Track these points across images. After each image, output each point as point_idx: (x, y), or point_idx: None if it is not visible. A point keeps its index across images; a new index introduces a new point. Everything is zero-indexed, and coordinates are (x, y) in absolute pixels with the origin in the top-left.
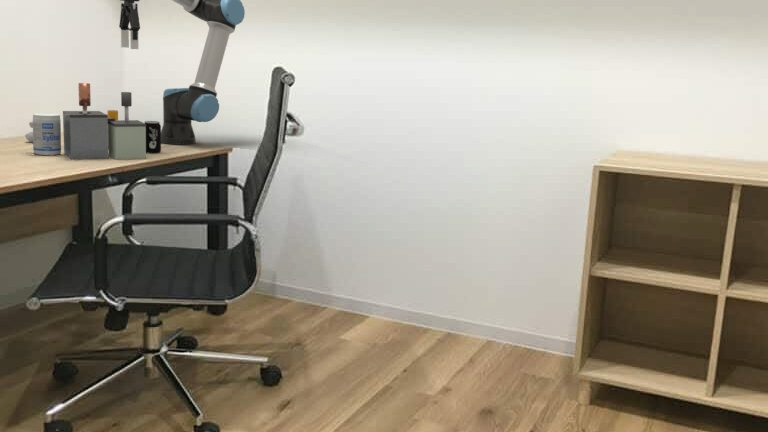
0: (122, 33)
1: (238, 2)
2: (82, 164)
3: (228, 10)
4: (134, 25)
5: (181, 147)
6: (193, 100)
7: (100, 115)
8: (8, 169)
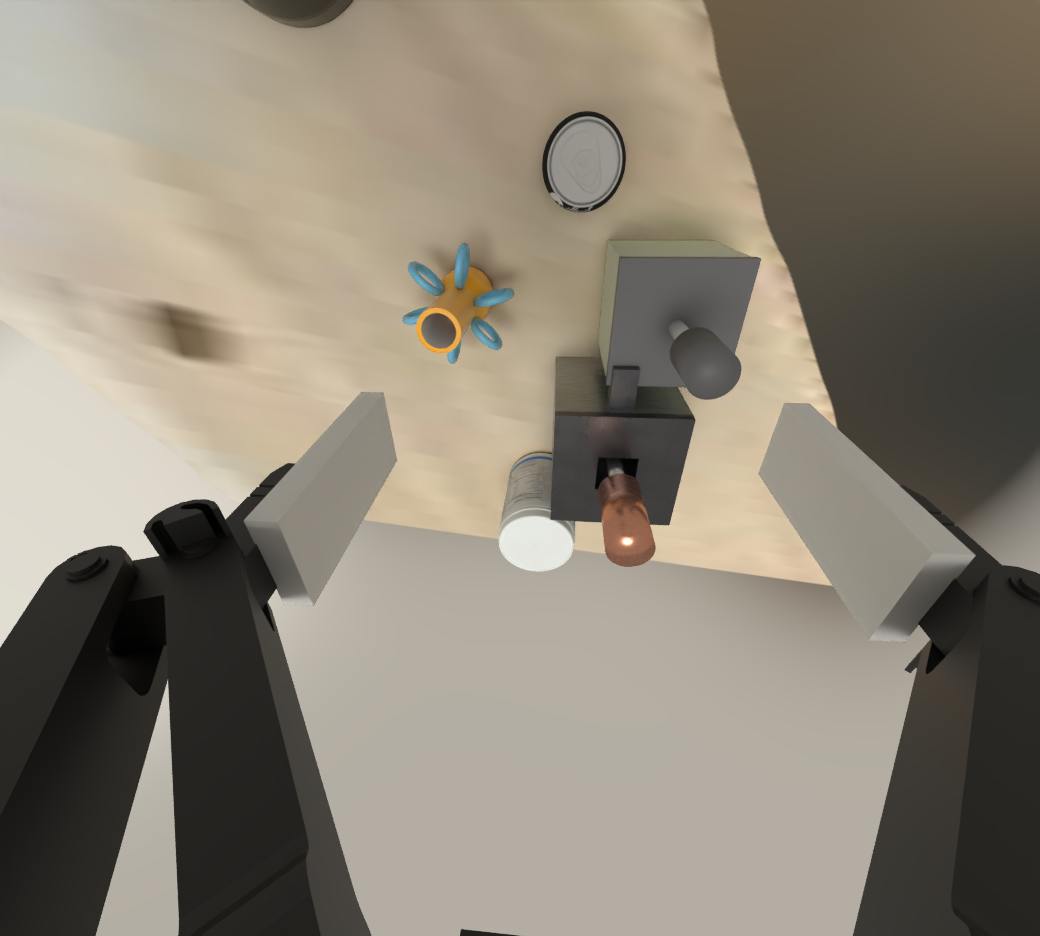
0: (332, 556)
1: None
2: (730, 441)
3: None
4: None
5: None
6: None
7: (689, 441)
8: (722, 567)
